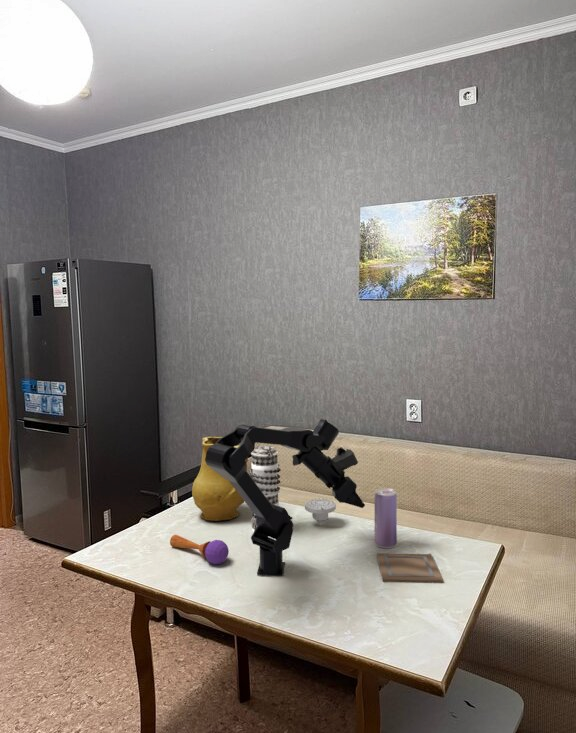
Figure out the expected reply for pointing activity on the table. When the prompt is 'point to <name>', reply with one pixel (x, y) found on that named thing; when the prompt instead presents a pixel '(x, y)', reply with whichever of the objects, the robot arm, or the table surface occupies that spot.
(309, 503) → the showerhead
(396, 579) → the plate
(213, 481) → the pitcher
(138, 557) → the table surface
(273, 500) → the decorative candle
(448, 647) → the table surface
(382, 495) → the beverage can
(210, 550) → the purple ball maraca
